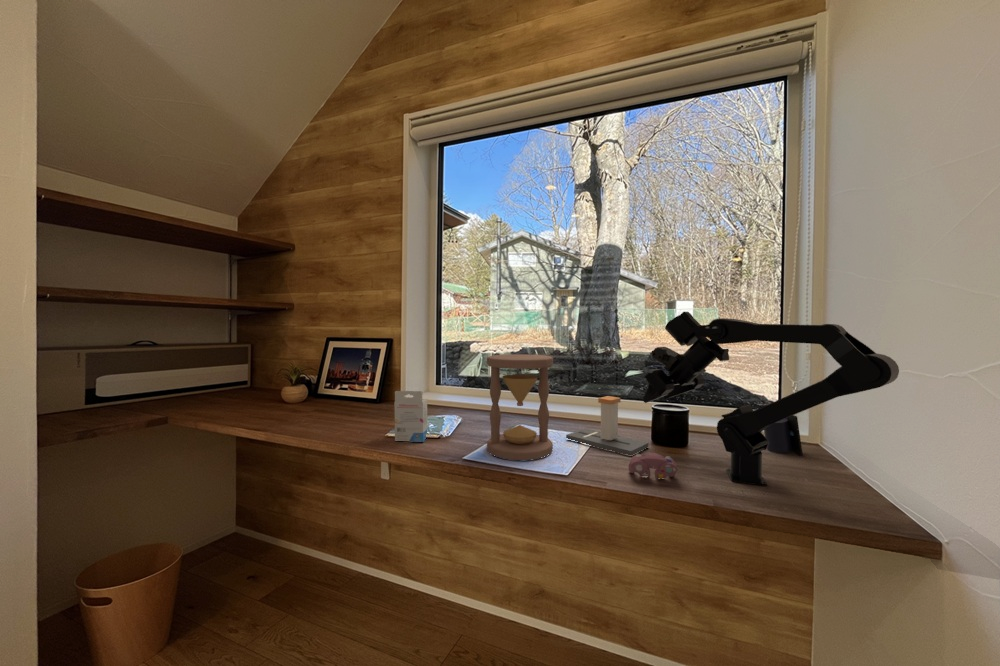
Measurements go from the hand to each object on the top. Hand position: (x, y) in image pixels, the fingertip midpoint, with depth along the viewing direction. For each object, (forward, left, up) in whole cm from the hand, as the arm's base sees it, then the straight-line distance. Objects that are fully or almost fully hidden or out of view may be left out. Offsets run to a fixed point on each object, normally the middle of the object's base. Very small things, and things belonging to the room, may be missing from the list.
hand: (654, 399), depth 101 cm
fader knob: (+2, +12, -12) cm, 17 cm away
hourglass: (-11, +34, -14) cm, 38 cm away
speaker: (+12, -31, -14) cm, 36 cm away
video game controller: (-19, +1, -14) cm, 24 cm away
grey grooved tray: (+2, +13, -14) cm, 19 cm away
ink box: (-14, +66, -14) cm, 69 cm away
